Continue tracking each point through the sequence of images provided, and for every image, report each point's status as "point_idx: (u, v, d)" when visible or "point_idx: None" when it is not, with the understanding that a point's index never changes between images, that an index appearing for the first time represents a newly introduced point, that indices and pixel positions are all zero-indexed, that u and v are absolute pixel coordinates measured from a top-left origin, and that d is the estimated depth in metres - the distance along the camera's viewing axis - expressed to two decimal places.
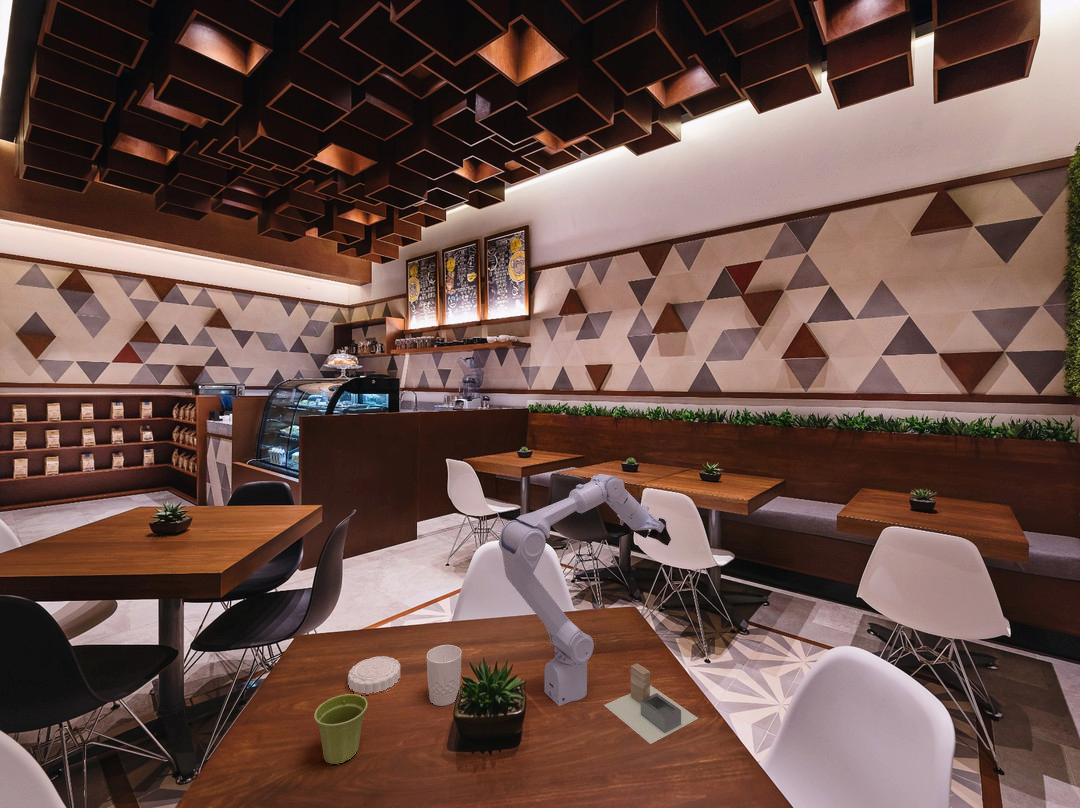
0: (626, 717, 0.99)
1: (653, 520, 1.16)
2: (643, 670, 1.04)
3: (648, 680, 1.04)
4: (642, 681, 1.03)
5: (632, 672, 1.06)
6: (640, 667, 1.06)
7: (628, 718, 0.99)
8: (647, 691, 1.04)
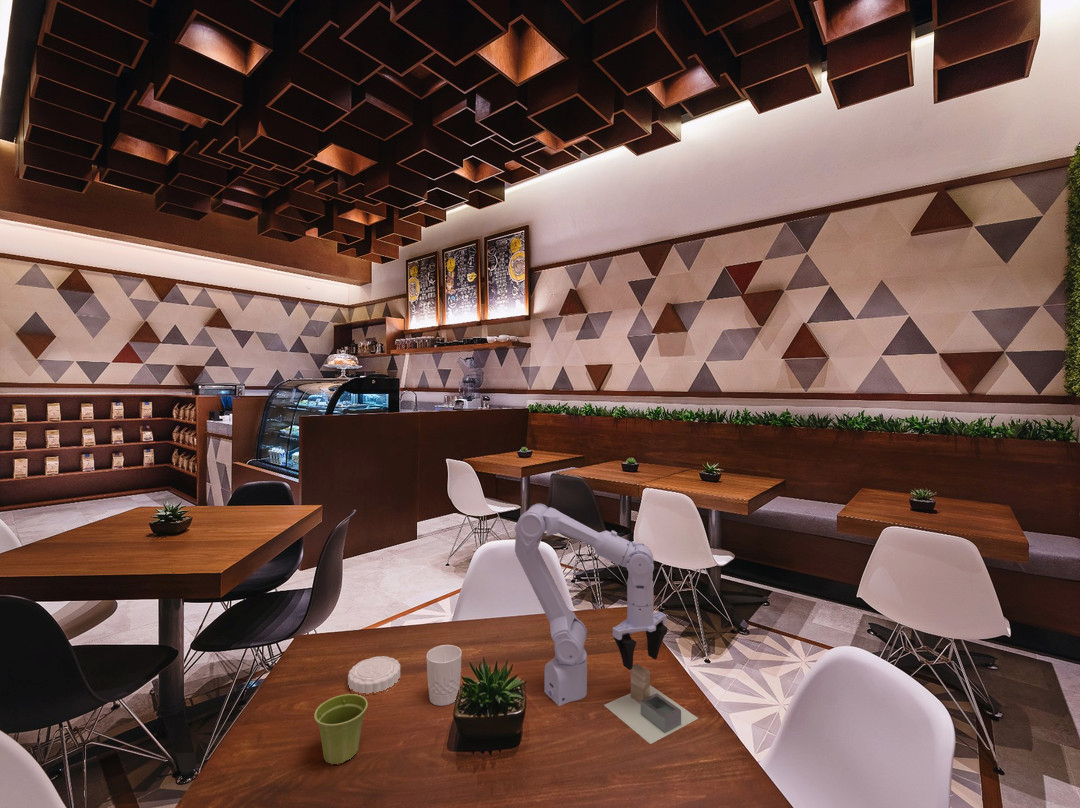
0: (626, 717, 0.99)
1: (626, 629, 1.02)
2: (643, 670, 1.04)
3: (648, 680, 1.04)
4: (642, 681, 1.03)
5: (632, 672, 1.06)
6: (640, 667, 1.06)
7: (628, 718, 0.99)
8: (647, 691, 1.04)
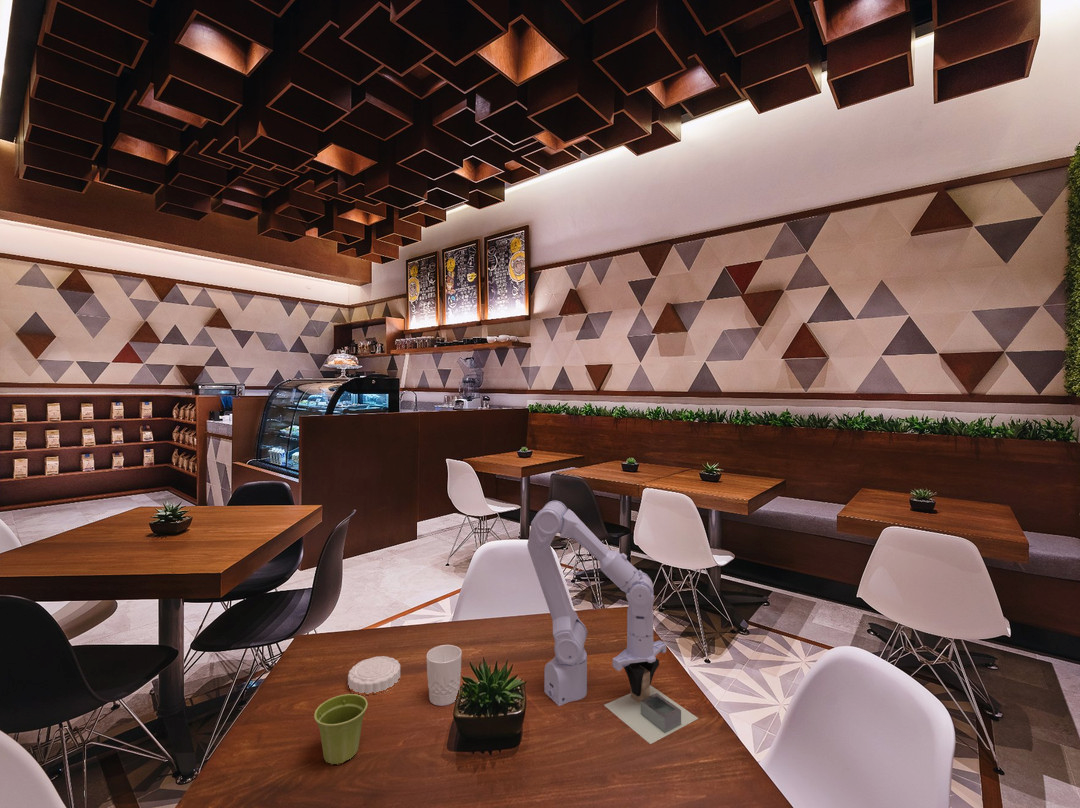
0: (626, 717, 0.99)
1: (626, 659, 1.02)
2: None
3: (648, 680, 1.04)
4: (642, 681, 1.03)
5: None
6: None
7: (628, 718, 0.99)
8: (647, 691, 1.04)
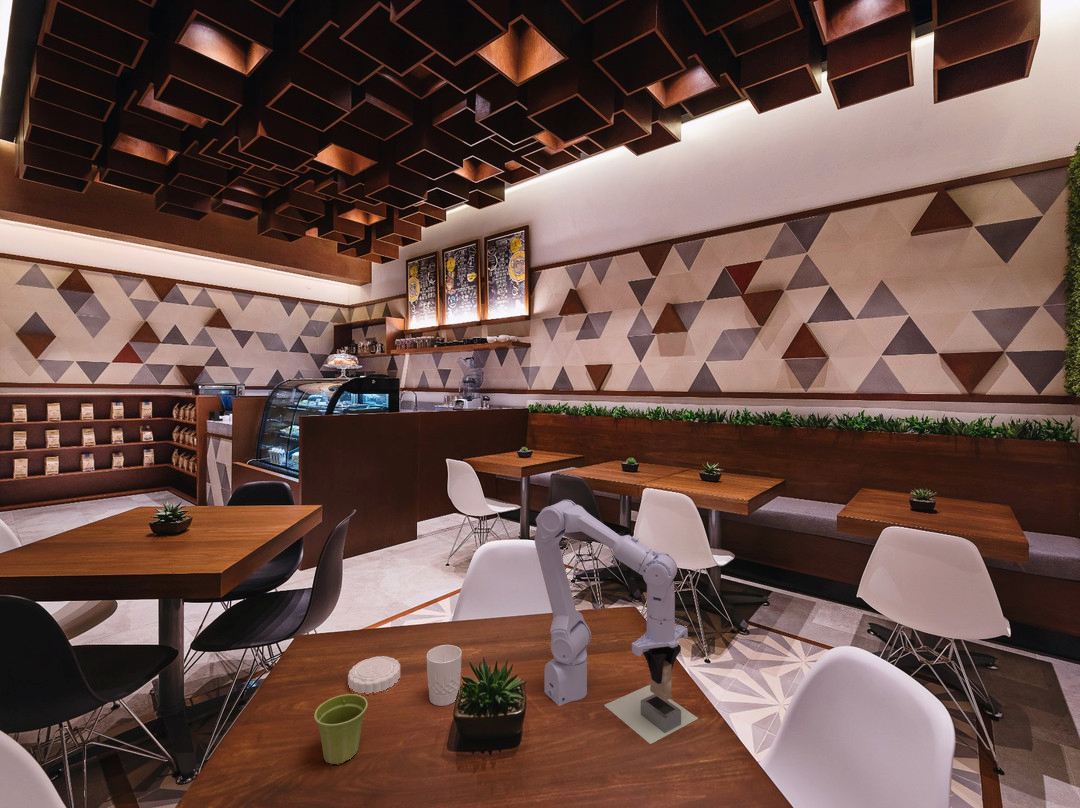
0: (626, 717, 0.99)
1: (646, 644, 0.95)
2: (664, 663, 0.98)
3: (669, 673, 0.97)
4: (663, 674, 0.97)
5: None
6: None
7: (628, 718, 0.99)
8: (668, 685, 0.97)
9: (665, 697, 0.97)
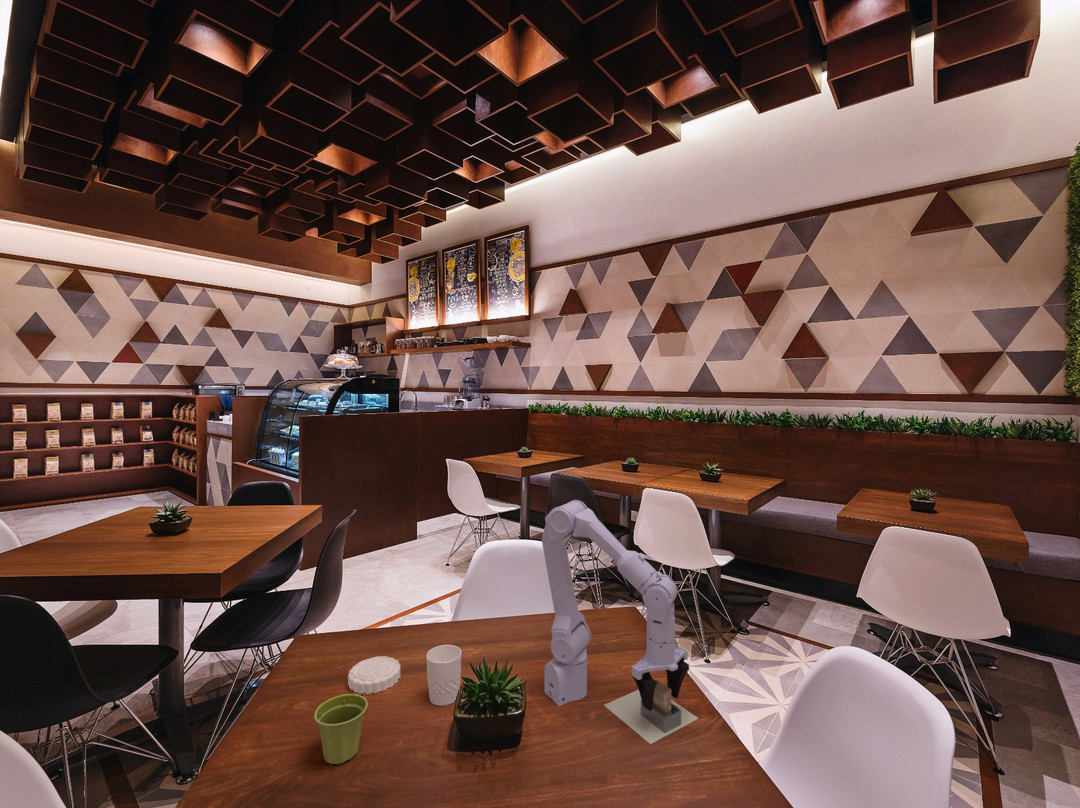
0: (626, 717, 0.99)
1: (646, 667, 0.95)
2: (663, 688, 0.98)
3: (669, 698, 0.97)
4: (663, 699, 0.97)
5: None
6: (660, 684, 0.99)
7: (628, 718, 0.99)
8: (668, 710, 0.97)
9: None
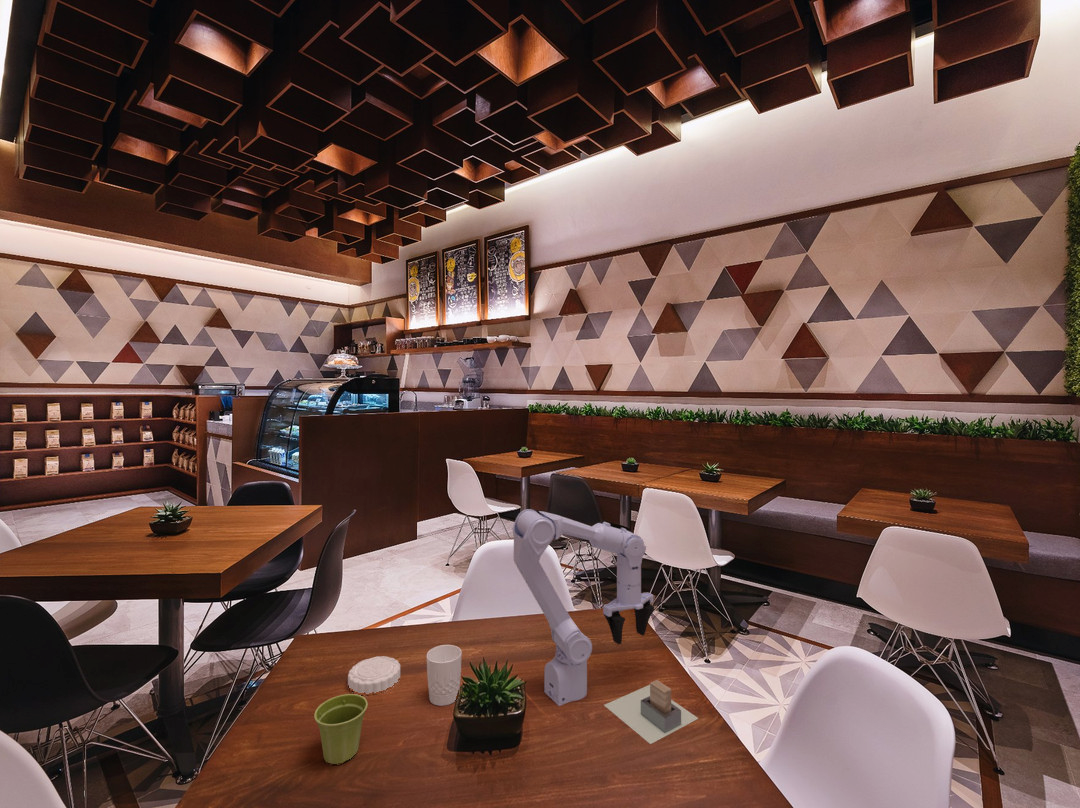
0: (626, 717, 0.99)
1: (616, 606, 1.11)
2: (663, 688, 0.98)
3: (669, 698, 0.97)
4: (663, 699, 0.97)
5: (652, 689, 0.99)
6: (660, 684, 0.99)
7: (628, 718, 0.99)
8: (668, 710, 0.97)
9: None
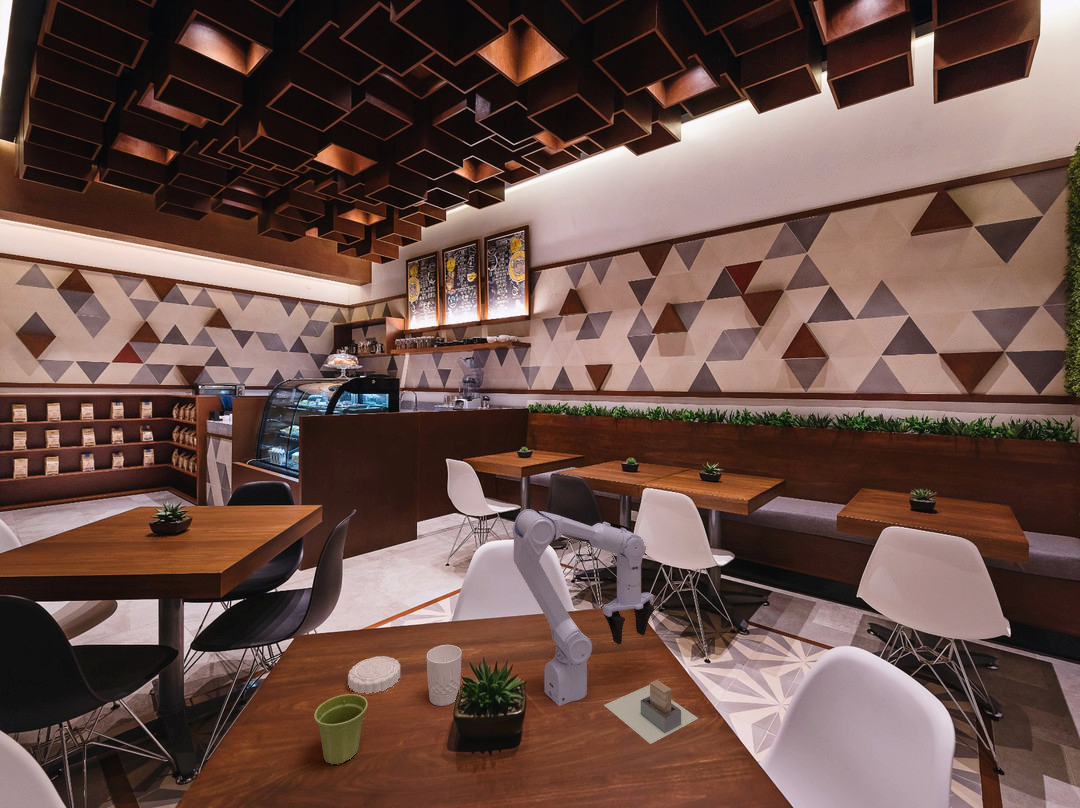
0: (626, 717, 0.99)
1: (616, 606, 1.11)
2: (663, 688, 0.98)
3: (669, 698, 0.97)
4: (663, 699, 0.97)
5: (652, 689, 0.99)
6: (660, 684, 0.99)
7: (628, 718, 0.99)
8: (668, 710, 0.97)
9: None
